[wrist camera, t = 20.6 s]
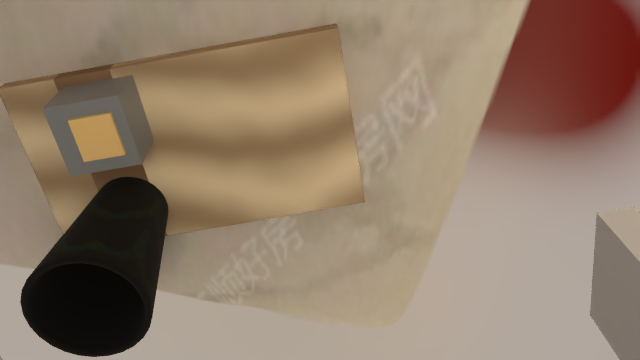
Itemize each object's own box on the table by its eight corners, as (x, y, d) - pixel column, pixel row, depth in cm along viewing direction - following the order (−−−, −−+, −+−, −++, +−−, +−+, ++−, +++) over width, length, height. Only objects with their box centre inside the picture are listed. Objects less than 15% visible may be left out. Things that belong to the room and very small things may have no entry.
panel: (4, 83, 42) (-3, 89, 41) (336, 23, 42) (338, 28, 40) (75, 243, 49) (70, 252, 48) (363, 194, 48) (364, 202, 47)
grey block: (62, 87, 42) (40, 110, 38) (132, 75, 41) (116, 96, 38) (88, 151, 44) (69, 178, 40) (154, 139, 44) (141, 166, 40)
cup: (186, 172, 45) (155, 267, 35) (178, 253, 49) (148, 363, 38) (81, 157, 44) (16, 251, 34) (81, 242, 48) (22, 350, 37)
